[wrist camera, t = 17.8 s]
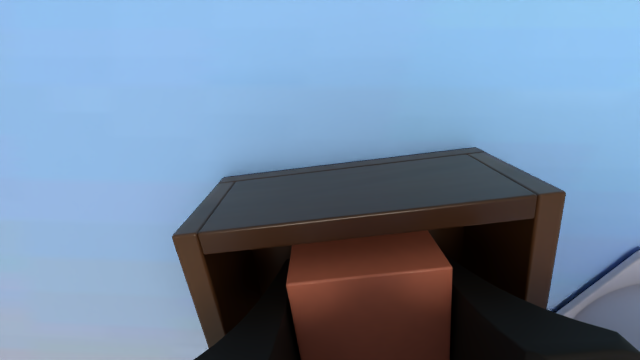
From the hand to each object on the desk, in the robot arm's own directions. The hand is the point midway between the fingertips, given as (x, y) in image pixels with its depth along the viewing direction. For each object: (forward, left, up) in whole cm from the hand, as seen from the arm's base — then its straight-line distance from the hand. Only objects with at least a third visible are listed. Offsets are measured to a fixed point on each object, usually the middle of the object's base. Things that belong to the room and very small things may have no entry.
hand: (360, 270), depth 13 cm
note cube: (0, 0, -1) cm, 1 cm away
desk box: (-1, +1, -2) cm, 2 cm away
